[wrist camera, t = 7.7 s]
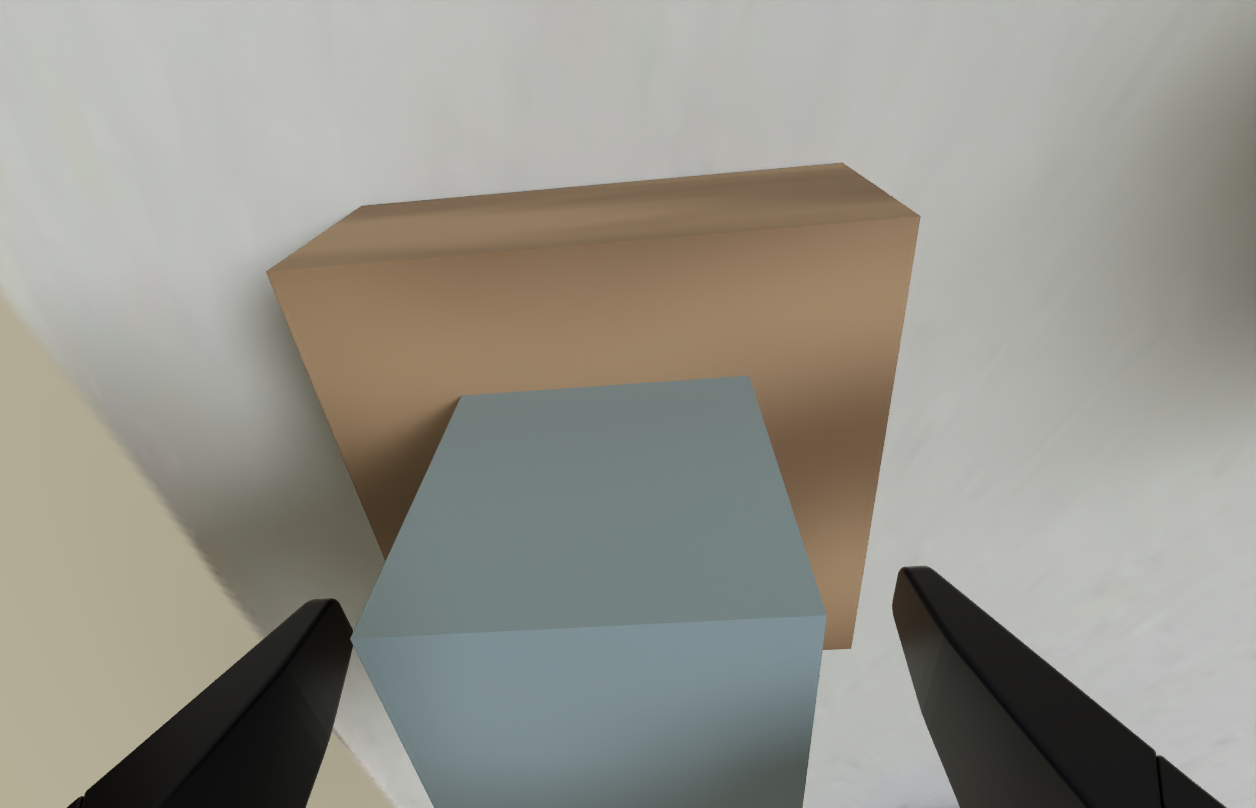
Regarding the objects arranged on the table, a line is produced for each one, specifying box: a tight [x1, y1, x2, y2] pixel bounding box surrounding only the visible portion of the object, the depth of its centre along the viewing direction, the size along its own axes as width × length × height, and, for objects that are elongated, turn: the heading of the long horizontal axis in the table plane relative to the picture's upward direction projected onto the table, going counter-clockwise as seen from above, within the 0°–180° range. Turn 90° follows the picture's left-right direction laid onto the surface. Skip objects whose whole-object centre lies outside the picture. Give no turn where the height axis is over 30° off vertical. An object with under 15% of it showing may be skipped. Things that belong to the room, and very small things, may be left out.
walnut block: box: [266, 163, 920, 650], centre depth 14 cm, size 10×10×4 cm
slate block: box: [350, 376, 827, 808], centre depth 10 cm, size 5×5×5 cm
